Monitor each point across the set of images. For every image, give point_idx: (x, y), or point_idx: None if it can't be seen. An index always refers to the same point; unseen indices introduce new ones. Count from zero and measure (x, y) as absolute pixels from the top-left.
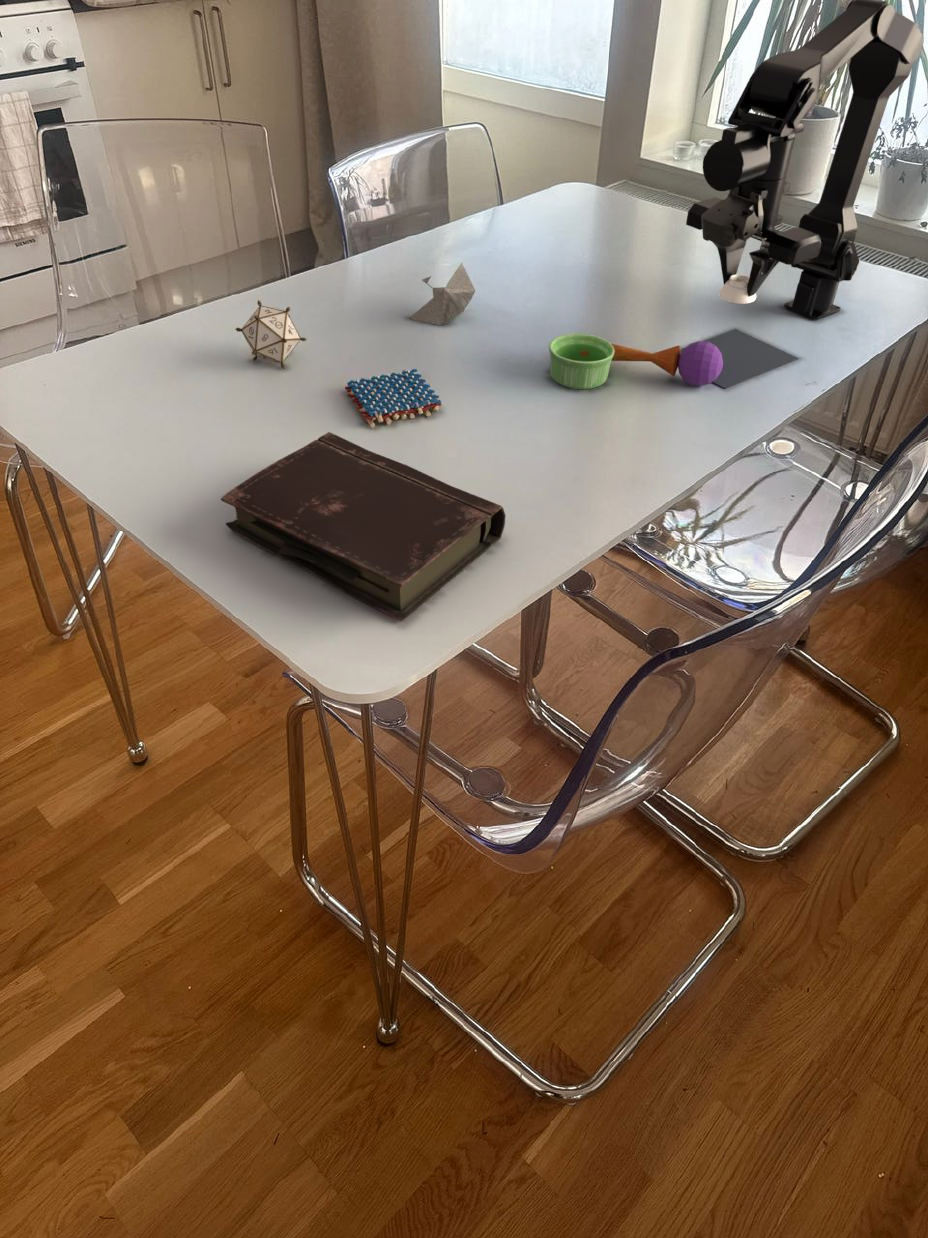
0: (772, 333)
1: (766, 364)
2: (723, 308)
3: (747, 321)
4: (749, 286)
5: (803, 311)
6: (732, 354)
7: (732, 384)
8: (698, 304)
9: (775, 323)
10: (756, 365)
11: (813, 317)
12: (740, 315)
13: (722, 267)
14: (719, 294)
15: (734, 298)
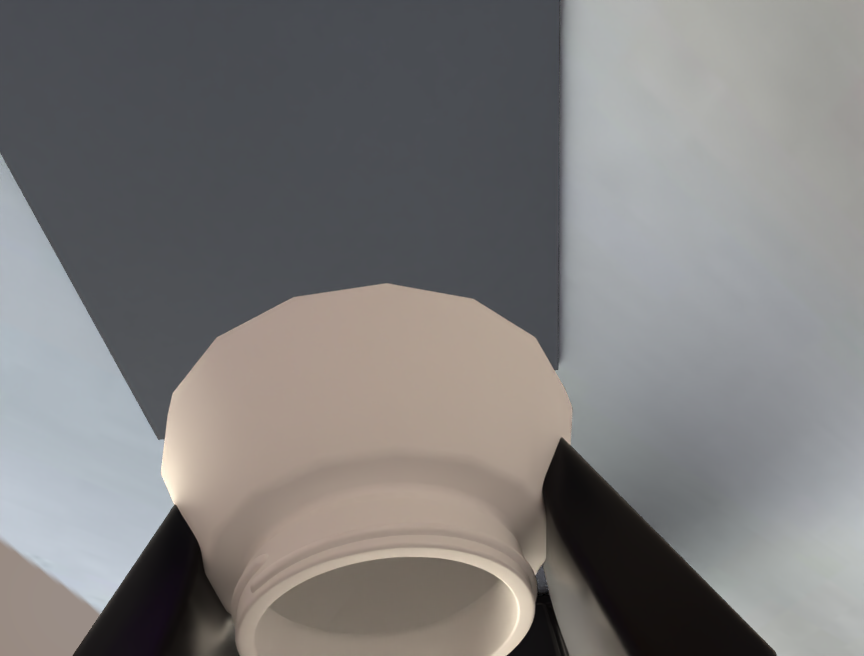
0: None
1: (130, 279)
2: (739, 429)
3: (583, 445)
4: (138, 613)
5: None
6: (321, 188)
7: None
8: (850, 367)
9: None
10: (136, 225)
11: None
12: (643, 450)
13: (705, 613)
14: (502, 318)
15: (226, 369)
